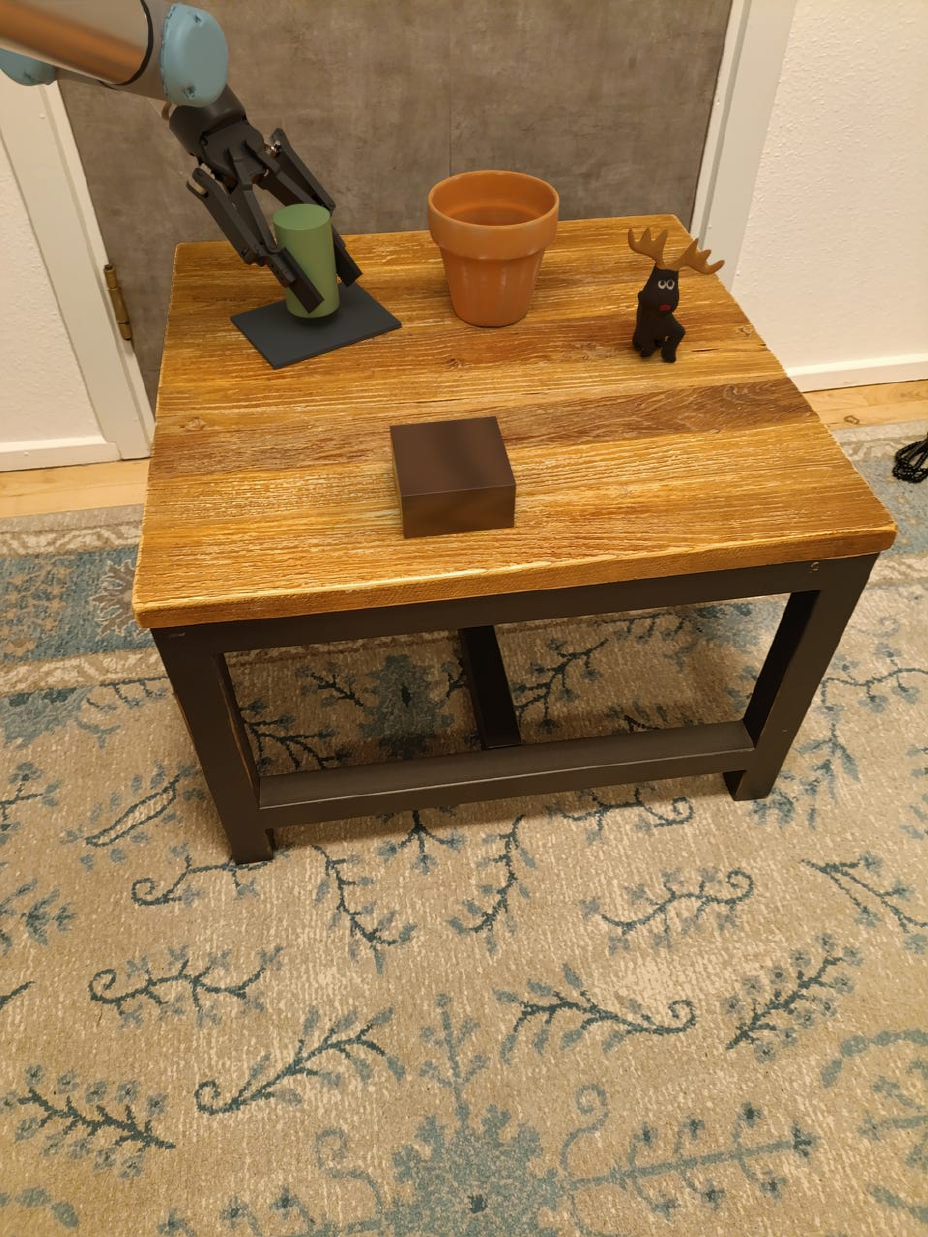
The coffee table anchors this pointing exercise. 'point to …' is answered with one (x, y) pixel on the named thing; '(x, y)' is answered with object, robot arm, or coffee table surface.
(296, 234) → the green canister
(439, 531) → the dark brown square block
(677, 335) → the figurine
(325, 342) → the slate mat
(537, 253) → the flower pot
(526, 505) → the coffee table surface
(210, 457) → the coffee table surface
